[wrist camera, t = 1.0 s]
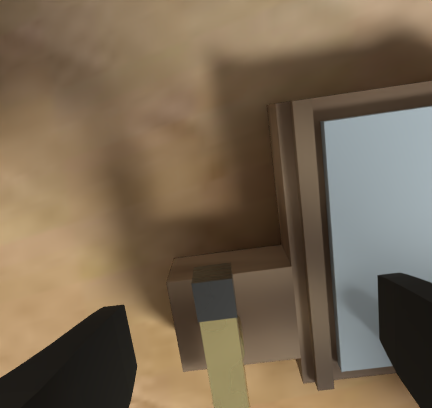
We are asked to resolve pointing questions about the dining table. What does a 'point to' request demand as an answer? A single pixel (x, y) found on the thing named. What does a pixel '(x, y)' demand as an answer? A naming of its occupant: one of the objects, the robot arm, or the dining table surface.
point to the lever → (221, 334)
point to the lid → (375, 219)
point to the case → (289, 248)
